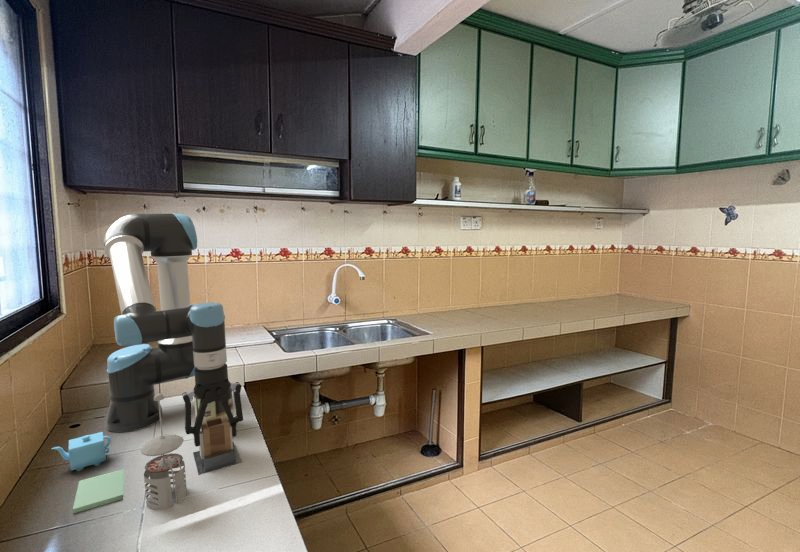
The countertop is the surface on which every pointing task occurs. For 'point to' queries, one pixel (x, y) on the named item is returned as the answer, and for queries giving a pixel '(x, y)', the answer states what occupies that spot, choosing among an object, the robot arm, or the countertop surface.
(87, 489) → the board
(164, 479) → the french press
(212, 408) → the coffee can
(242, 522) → the countertop surface
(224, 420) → the sleeve
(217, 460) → the peg stand
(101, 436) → the teapot
